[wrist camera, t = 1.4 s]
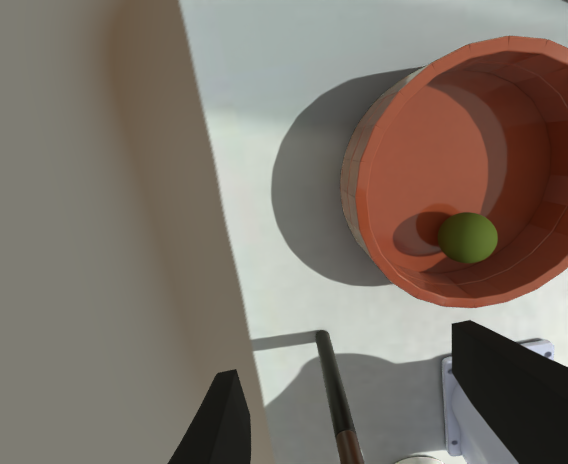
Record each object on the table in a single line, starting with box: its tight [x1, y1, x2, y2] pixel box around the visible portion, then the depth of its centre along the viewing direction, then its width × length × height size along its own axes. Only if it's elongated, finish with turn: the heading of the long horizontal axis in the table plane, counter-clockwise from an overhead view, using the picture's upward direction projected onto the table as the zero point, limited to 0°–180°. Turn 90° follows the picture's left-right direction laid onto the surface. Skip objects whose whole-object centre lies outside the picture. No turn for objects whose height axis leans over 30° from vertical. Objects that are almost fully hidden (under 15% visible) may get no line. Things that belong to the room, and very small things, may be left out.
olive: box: [438, 212, 498, 263], centre depth 17 cm, size 3×3×3 cm
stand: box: [315, 330, 356, 438], centre depth 18 cm, size 1×1×8 cm
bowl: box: [340, 36, 568, 308], centre depth 17 cm, size 13×13×4 cm
